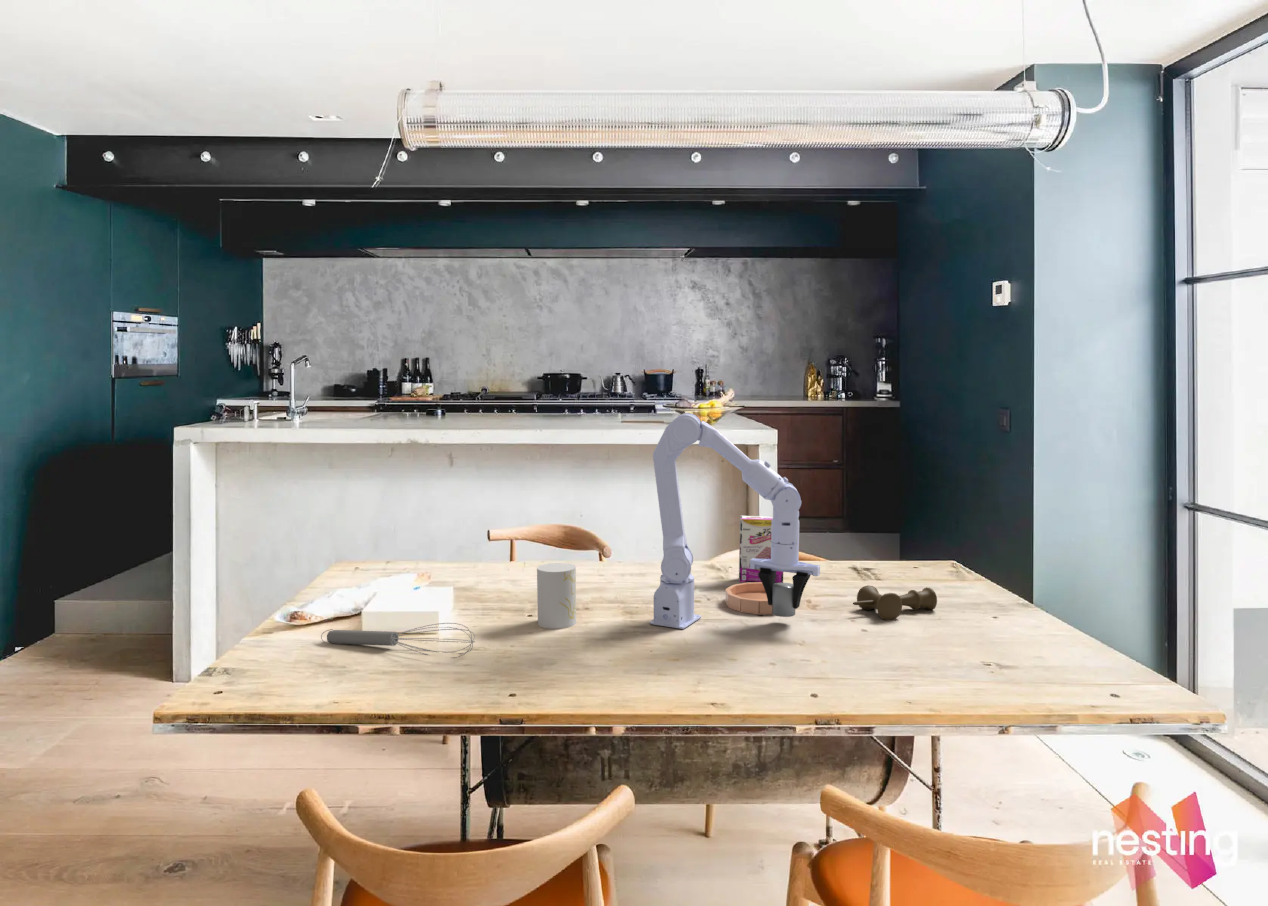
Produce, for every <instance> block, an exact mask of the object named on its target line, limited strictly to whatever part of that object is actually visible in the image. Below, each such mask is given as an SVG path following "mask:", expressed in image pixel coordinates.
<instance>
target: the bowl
mask: <svg viewBox="0 0 1268 906" xmlns="http://www.w3.org/2000/svg"><path fill="white" fill-rule="evenodd" d="M724 601H725V604H726V606H727V608H729V609H732V610H734V611H738V612H739V613H744V614H745V613H746V614H754V615H773V614H772V605H768V599H767V595H766V592H765V589H764V586H763V584H762V582H740V583H736V584H732V585H730V586H729V587H727V588H725V600H724Z"/></svg>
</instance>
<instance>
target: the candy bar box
mask: <svg viewBox="0 0 1268 906" xmlns="http://www.w3.org/2000/svg"><path fill="white" fill-rule="evenodd" d="M772 519H773V515H772V516H771V515H770V516H766V515H740V517H739V547H738V548H739V555H738V556H739V557H738V558H739V559H738V581H739V583H748V582H761V580H760V578H759V576H758V573H759V572H760V569H750V560H751V559H753V558H757V559H771V526H772ZM775 583H784V572H781V571H776V578H775Z"/></svg>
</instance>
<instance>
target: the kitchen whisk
mask: <svg viewBox="0 0 1268 906" xmlns="http://www.w3.org/2000/svg"><path fill="white" fill-rule="evenodd" d="M444 624H445V625H446V624H449V625H450V624H451V625H452V624H453V625H458V626H459V625H460V626H462V627H464V628H466V629H462V628H458V627H451V626H448V628H444V629H443V628H442V629H440V631H448V630H449V631H451V630H454V631H455V630H456V631H460V632H461V631H462V632H464V634H466V635H468V637H469V638H470V640H469V639H462V642H465V643H466V644H467V643H469V644H468V645H467V646H466V647H463V648H462V649H458V650H457V649H456V650H453V651H450V653H455V652H457V653H456V654H457V655H459V656H453V657H452V656H451V659H455V658H460V657H462V656H464V655H467V653H469V652H471V651H472V650H473V648H474V643H476V641H475V638H476V635H475V633H474V632H473V631H471V630H470V629H469V628H468V627H467V626H466V625H464V624H462V623H456V622H443V623H442V622H440V623H439V622H438V625H444ZM436 625H437V623H434V624H428V625H423V626H418V627H415V628H412V629H411V628H410V629H407V630H405V631H402V632H399V633H398V632H397V631H386V630H385V631H382V630H351V629H348V630H347V629H333V628H331V629H326V630H325V631H323V632H322V633H321V635H320V639H321V641H322V642H323V643H326V641H325V640H324V639H323V634H325V633H326V632H327V634H326V640H327V642H328V643H330V644H335V645H360V646H362V645H363V646H364V645H365V646H366V645H367V646H392V647H395V646H397V645H398V646H401V647H403V648H405V649H407V650H411V651H414V652H416V653H419V654H422V655H425V656H426V655H427V656H429V654H427V653H425V652H421V651H427V652H432V653H438V651H436V650H431V649H427V648H421V647H418V646H413V645H410V644H407V643H404V642H400V641H399V640H401V641H403V640H404V641H413V640H417V641H420V642H433V640H437V642H442V643H457V641H461V639H459V638H458V639H456V638H444V640H438V638H435V637H434V638H429V637H402V636H408V635H413V634H420V633H428V632H429V630H426V629H432V628H433V629H432V630H430V632H434V631H435V632H436V631H439V629H436V628H437V626H436ZM429 626H431V627H429ZM434 628H435V629H434ZM419 630H425V631H419ZM413 631H416V632H413ZM417 631H418V632H417ZM466 631H467V632H469V633H470V635H469V633H467V632H466ZM406 633H407V634H406ZM472 634H473V635H472ZM467 648H468V649H467ZM414 649H417V650H421V651H417V650H414ZM465 649H467V650H466V651H465V652H460V651H463V650H465ZM458 652H459V653H458ZM443 653H445V654H446V653H447V654H448V651H443Z"/></svg>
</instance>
